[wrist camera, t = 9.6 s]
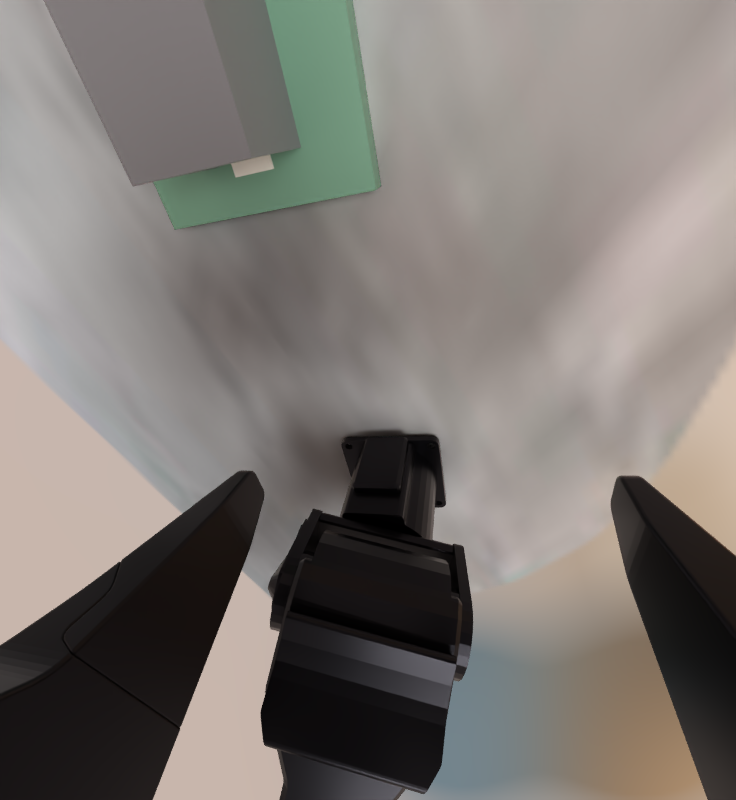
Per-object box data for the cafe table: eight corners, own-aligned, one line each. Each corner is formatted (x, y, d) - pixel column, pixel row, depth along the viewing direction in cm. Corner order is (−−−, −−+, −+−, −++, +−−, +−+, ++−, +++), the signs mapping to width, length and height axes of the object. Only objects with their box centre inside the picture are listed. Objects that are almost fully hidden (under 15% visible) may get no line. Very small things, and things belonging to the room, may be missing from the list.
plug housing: (301, 147, 15) (247, 158, 11) (203, 170, 16) (126, 188, 13) (232, -132, 11) (116, -255, 7) (111, -73, 12) (-41, -154, 9)
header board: (380, 185, 16) (365, 199, 14) (188, 223, 19) (144, 241, 17) (310, -269, 10) (258, -403, 8) (43, -118, 13) (-65, -177, 10)
